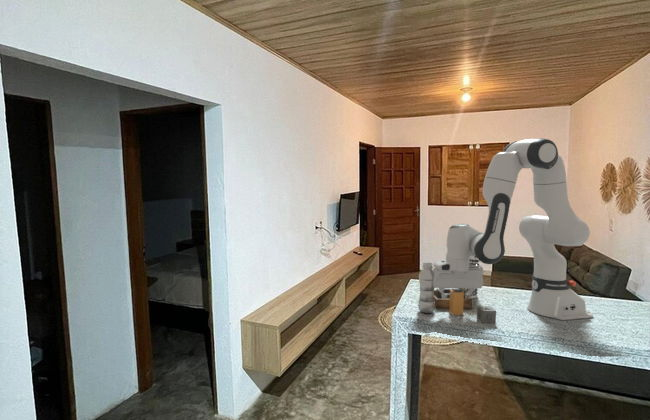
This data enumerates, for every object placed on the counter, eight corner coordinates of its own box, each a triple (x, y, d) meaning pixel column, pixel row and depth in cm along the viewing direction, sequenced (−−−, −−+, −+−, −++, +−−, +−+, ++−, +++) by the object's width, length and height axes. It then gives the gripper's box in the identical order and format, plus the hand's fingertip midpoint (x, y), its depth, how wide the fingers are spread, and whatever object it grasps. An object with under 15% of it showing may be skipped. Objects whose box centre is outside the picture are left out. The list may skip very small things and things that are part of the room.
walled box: (459, 298, 160) (460, 286, 160) (472, 308, 147) (472, 296, 147) (426, 298, 160) (427, 287, 160) (436, 308, 147) (436, 296, 147)
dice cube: (482, 323, 132) (482, 310, 132) (476, 318, 137) (477, 306, 136) (495, 324, 132) (496, 311, 131) (489, 318, 137) (490, 306, 136)
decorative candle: (472, 291, 170) (474, 240, 168) (482, 298, 161) (484, 243, 159) (453, 292, 169) (455, 240, 167) (462, 298, 160) (464, 244, 158)
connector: (459, 311, 145) (459, 288, 144) (463, 314, 141) (463, 291, 140) (449, 311, 145) (450, 288, 144) (453, 314, 141) (453, 291, 140)
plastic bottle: (436, 315, 140) (437, 265, 138) (418, 314, 141) (419, 264, 139) (434, 309, 146) (435, 262, 144) (417, 308, 147) (418, 261, 146)
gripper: (479, 263, 144) (477, 296, 145) (429, 262, 144) (428, 295, 145) (487, 266, 138) (485, 301, 139) (435, 266, 137) (433, 300, 138)
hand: (455, 298), depth 142 cm, fingers open, 8 cm apart
